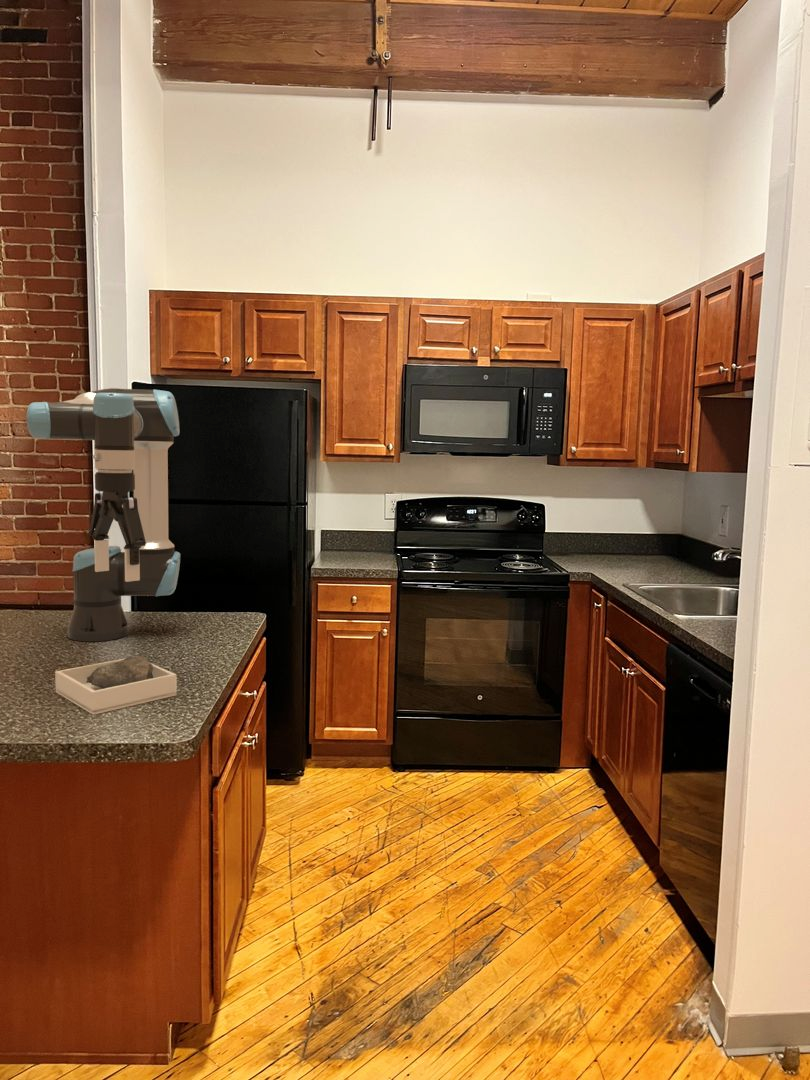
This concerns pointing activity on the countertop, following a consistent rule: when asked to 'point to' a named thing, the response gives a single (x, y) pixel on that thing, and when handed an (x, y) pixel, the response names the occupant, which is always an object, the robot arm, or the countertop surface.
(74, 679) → the dish
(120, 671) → the rock
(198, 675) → the countertop surface
